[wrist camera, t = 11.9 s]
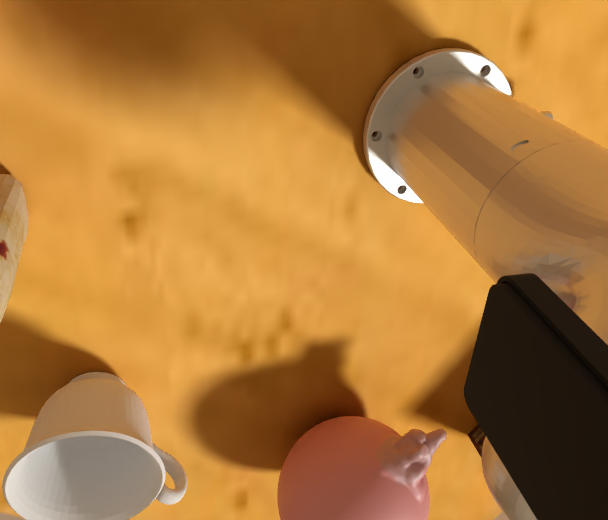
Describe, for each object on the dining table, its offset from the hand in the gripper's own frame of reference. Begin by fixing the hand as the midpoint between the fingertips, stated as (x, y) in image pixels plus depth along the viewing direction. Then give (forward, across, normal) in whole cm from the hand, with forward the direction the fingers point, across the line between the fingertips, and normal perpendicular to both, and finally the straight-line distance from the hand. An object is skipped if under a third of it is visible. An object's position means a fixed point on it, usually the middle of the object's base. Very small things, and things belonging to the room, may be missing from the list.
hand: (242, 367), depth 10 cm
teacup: (+33, +9, +33) cm, 48 cm away
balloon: (+34, -15, +42) cm, 56 cm away
